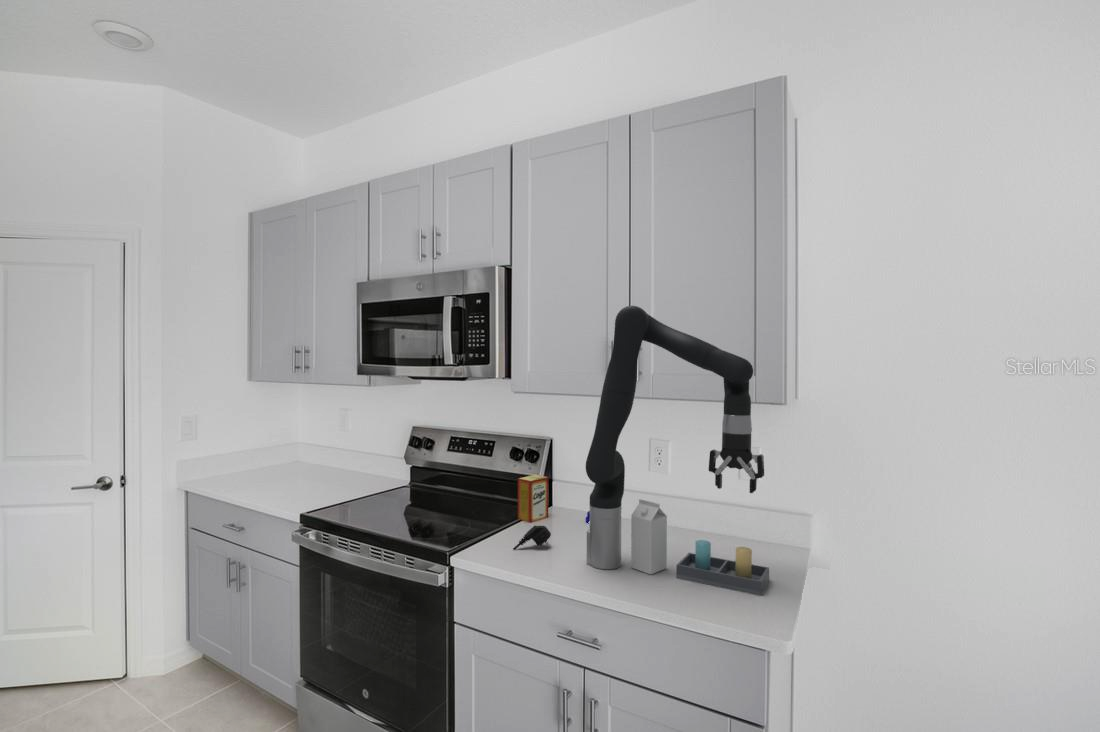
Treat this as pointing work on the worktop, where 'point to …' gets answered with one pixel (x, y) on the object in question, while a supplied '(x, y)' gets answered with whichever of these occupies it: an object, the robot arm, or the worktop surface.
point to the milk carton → (648, 538)
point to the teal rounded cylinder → (703, 555)
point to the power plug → (536, 536)
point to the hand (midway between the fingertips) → (735, 490)
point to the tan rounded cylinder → (743, 562)
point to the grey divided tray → (723, 575)
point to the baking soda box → (532, 498)
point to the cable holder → (588, 517)
